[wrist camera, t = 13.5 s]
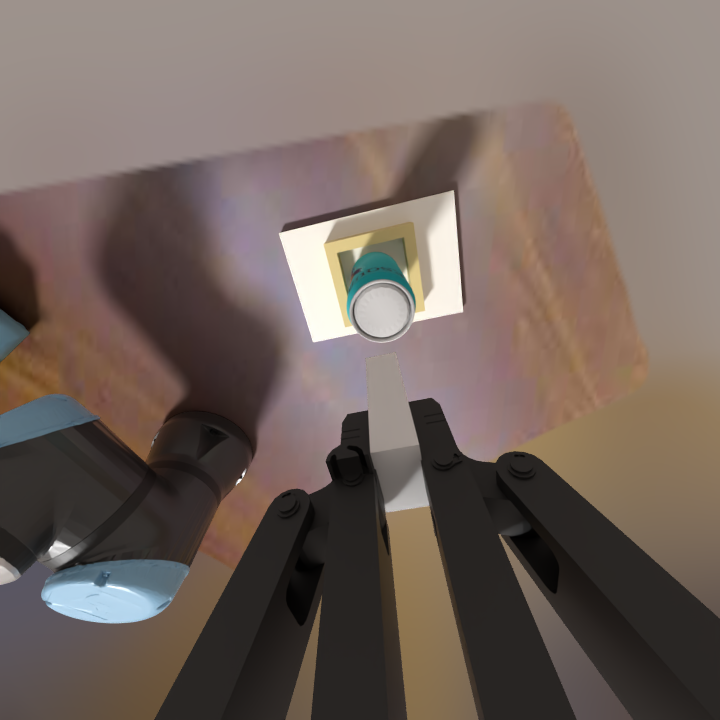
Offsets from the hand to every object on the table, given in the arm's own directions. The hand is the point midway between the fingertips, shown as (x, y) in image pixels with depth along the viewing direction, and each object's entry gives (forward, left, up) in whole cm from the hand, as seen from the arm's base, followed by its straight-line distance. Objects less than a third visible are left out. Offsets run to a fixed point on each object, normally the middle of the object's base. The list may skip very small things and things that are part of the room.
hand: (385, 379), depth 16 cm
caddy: (0, 0, -26) cm, 26 cm away
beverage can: (0, 0, -25) cm, 25 cm away
